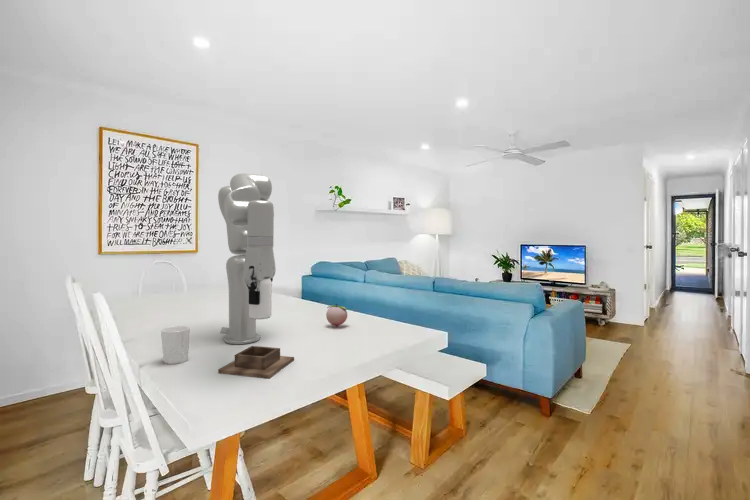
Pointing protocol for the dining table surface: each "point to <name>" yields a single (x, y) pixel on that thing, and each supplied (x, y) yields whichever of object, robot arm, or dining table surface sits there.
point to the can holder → (257, 362)
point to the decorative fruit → (336, 315)
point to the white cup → (175, 344)
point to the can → (262, 301)
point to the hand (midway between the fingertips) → (260, 301)
